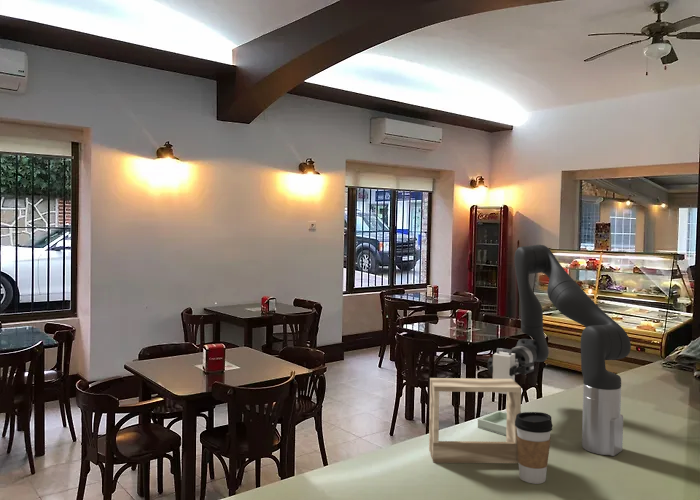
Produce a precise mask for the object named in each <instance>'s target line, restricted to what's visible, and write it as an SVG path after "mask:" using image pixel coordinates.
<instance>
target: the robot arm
mask: <svg viewBox="0 0 700 500" xmlns="http://www.w3.org/2000/svg"><path fill="white" fill-rule="evenodd" d="M513 261H514V268H515V276H516V283H517V288H518V294H519V295H518V297H519V300H520V330H521V332H522V333H523V334H525V335H527V336H530V337H532V338H533V339H530V338H521V339H519V340H518V341H517V343H516V345H515V347H512V348H511V349H510V350H511V353H515V366H512V367H511V368H510V370H509V375H510V376H513V375H515V376H516V375H520V374H521V375H527V374H530V373H533V372H534V371H535V370H534V369H535V364H534V363H535V362H538V363H542V362H545V361H546V360H547V359H548V358H549V352H550V351H549V346H548V343H547V339H546V335H545V332H544V311H543V307H542V304H541V302H540V300H539V299H538V297H537V296H536V294H535V292H534V290H533V289H532V287H531V283H530V274H531V275H532V274H539V273H540V274H545V276H546V277H548V284H547V288H546V289H547V290H546V291H547V296H548V299H549V300H550V302H551V303H552V304H553V306H554V307H555V308H556V310H557V311H558V312H559V313H561V315H563V316H565V317H566V318H568V319H570V320H572V321H573V322H576V323H578V324H580V325H582V326H583V327H585V328H584V329H583V330H582V333H581V335H580V336H581V337H580V361H581V362H580V363H581V364H580V365H581V367H580V368H581V373H582V374H581V375H582V376H583V377H582V378H583V379H582V380H583V381H582V382H583V385H582V386H583V387H582V388H583V389H582V391H583V392H582V423H581V424H582V425H581V426H582V428H581V447H582V449H584V450H585V451H588V452H590V453H592V454H597V455H602V456H603V455H605V456H611V457H616V455H618V454H619V453H620V452H622V451H623V444H624V443H623V442H624V441H623V440H624V439H623V438H624V435H623V434H624V415H623V414H621V412H622V411H621V410H622V409H621V408H622V407H621V406H622V401H621V400H622V398H621V397H622V378H621V376H620V375H619V374H617V373H614V372H612V371H609V370H607V369H606V361H611V360H612V361H615V360H622V359H624V358H627V357H628V355H629V354H630V353H631V347H632V346H631V345H632V344H631V340H630V337H629V335H628V334H627V332H626V330H625V329H624V328H623V327H622V326H621V325H620V324H619V323H617V322H616V321H615V320H614V319H613V318H612V317H611V316H609V315H608V314H607V313H606V312H605V311H603V310H602V309H601V307H600V306H598V304H597V303H596V302H595V301H593V300H592V298H591V297H590V296H589V295H588V294H587V293H586V292H585V291H584V289H582V287H581V285H579V284H578V283H577V282H576V281H575V280H574V278H572V276H570V274H569V273H568V272H567V271H566V270H565V269H564V267H563V266H562V265H561V263H560V262H559V261H558V259H557V257H556V256H555V255H554V253H553V251H552V250H550V249H549V247H548V246H546V245H543V244H534V245H525V246H523V245H522V246H519V247H517V249H516V250H515V252H514V260H513ZM506 352H507V351H506ZM507 353H509V352H507ZM487 370H488V371H489V372H490V374H493V356H492V357H491V356H490V357H489V358H488V360H487Z"/></svg>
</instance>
